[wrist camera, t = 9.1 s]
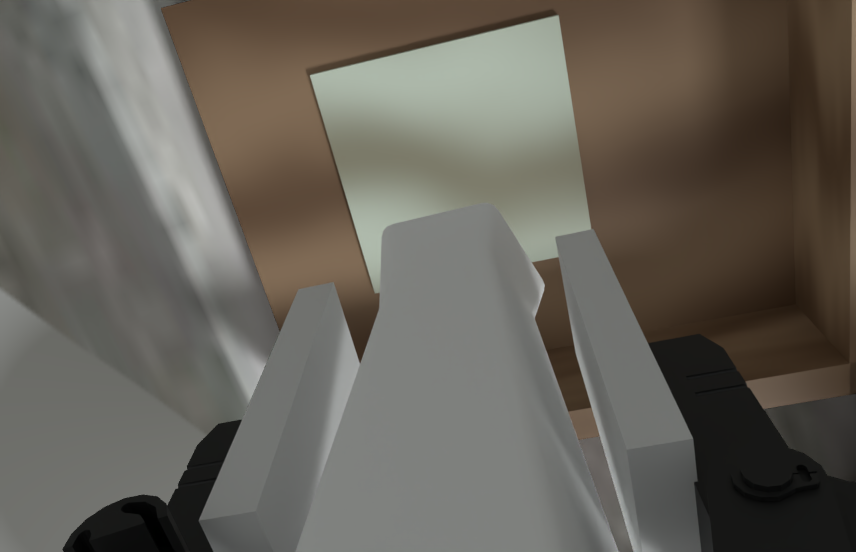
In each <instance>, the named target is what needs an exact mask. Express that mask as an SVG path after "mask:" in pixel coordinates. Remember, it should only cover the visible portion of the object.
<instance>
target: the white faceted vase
mask: <svg viewBox="0 0 856 552" xmlns="http://www.w3.org/2000/svg"><path fill="white" fill-rule="evenodd" d="M544 287H545V285H544V282H543V280H542V278H541V276H540V275H539V273H538V272H537V270H536V268H535V267H534V265H533V264H532V262H531V261H530V259H529V257H528V256H527V254H526V253H525V251H524V250H523V248H522V246H521V245H520V243H519V242H518V240H517V238H516V237H515V235H514V234H513V232H512V231H511V229H510V227H509V226H508V224H507V223H506V221H505V220H504V218H503V216H502V215H501V213H500V212H499V210H498V209H497V208H496V207H495V206H494V205H492V204H490V203H480V204H475V205H471V206H467V207H463V208H458V209H454V210H450V211H446V212H442V213H437V214H433V215H429V216H425V217H420V218H416V219H412V220H408V221H403V222H399V223H395V224H392V225H390V226H387V227H386V228H385V229H384V231H383V234H382V241H381V271H380V301H379V311H378V314H377V317H376V319H375V322H374V325H373V328H372V331H371V334H370V337H369V340H368V343H367V346H366V348H365V351H364V354H363V357H362V360H361V363H360V366H359V369H358V372H357V375H356V377H355V380H354V383H353V386H352V389H351V392H350V395H349V398H348V401H347V403H346V406H345V409H344V412H343V415H342V418H341V421H340V424H339V427H338V430H337V432H336V435H335V438H334V441H333V444H332V447H331V450H330V453H329V456H328V459H327V461H326V464H325V467H324V470H323V473H322V476H321V479H320V482H319V485H318V487H317V490H316V493H315V496H314V499H313V502H312V505H311V508H310V511H309V514H308V516H307V519H306V522H305V525H304V528H303V531H302V534H301V537H300V540H299V543H298V545H297V548H296V551H295V552H618V549H617V546H616V543H615V541H614V538H613V535H612V532H611V530H610V527H609V524H608V521H607V518H606V516H605V513H604V510H603V507H602V505H601V502H600V499H599V496H598V493H597V491H596V488H595V485H594V482H593V479H592V477H591V474H590V471H589V468H588V466H587V463H586V460H585V457H584V454H583V452H582V449H581V446H580V443H579V441H578V438H577V435H576V432H575V429H574V427H573V424H572V421H571V418H570V415H569V413H568V410H567V407H566V404H565V402H564V399H563V396H562V393H561V390H560V388H559V385H558V382H557V379H556V377H555V374H554V371H553V368H552V365H551V363H550V360H549V357H548V354H547V351H546V349H545V346H544V343H543V340H542V338H541V335H540V332H539V329H538V326H537V324H536V321H535V316H536V313H537V310H538V307H539V304H540V301H541V298H542V295H543V292H544Z"/></svg>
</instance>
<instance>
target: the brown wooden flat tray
mask: <svg viewBox="0 0 856 552" xmlns="http://www.w3.org/2000/svg"><path fill="white" fill-rule="evenodd" d="M161 10H162V13H163V16H164V18H165V21H166V24H167V26H168V29H169V32H170V35H171V37H172V40H173V43H174V45H175V48H176V51H177V54H178V56H179V59H180V62H181V64H182V67H183V70H184V73H185V75H186V78H187V81H188V83H189V86H190V89H191V92H192V94H193V97H194V100H195V102H196V105H197V108H198V111H199V113H200V116H201V119H202V121H203V124H204V127H205V130H206V132H207V135H208V138H209V140H210V143H211V146H212V149H213V151H214V154H215V157H216V159H217V162H218V165H219V168H220V170H221V173H222V176H223V178H224V181H225V184H226V187H227V189H228V192H229V195H230V197H231V200H232V203H233V206H234V208H235V211H236V214H237V216H238V219H239V222H240V225H241V227H242V230H243V233H244V235H245V238H246V241H247V244H248V246H249V249H250V252H251V254H252V257H253V260H254V263H255V265H256V268H257V271H258V273H259V276H260V279H261V282H262V284H263V287H264V290H265V292H266V295H267V298H268V301H269V303H270V306H271V309H272V311H273V314H274V317H275V320H276V322H277V325H278V328H279V330H280V331H281V329H282V326H283V324H284V322H285V319H286V317H287V315H288V312H289V310H290V308H291V305H292V303H293V301H294V298H295V296H296V294H297V292H298V289H302V288H307V287H312V286H317V285H322V284H327V283H332V282H334V285H335V288H336V291H337V294H338V297H339V301H340V304H341V307H342V310H343V313H344V316H345V319H346V322H347V325H348V328H349V332H350V335H351V338H352V341H353V344H354V347H355V350H356V353H357V356H358V360H359V363H361V360H362V357H363V354H364V351H365V348H366V346H367V343H368V340H369V337H370V334H371V331H372V328H373V325H374V322H375V319H376V317H377V314H378V311H379V301H380V271H381V241H382V234H383V231H384V229H385V228H386V227H387V226H390V225H392V224H395V223H399V222H403V221H408V220H412V219H416V218H420V217H425V216H429V215H433V214H437V213H442V212H446V211H450V210H454V209H458V208H463V207H467V206H471V205H475V204H480V203H490V204H492V205H494V206H495V207H496V208H497V209H498V210H499V212H500V213H501V215H502V216H503V218H504V220H505V221H506V223H507V224H508V226H509V227H510V229H511V231H512V232H513V234H514V235H515V237H516V238H517V240H518V242H519V243H520V245H521V246H522V248H523V250H524V251H525V253H526V254H527V256H528V257H529V259H530V261H531V262H532V264H533V265H534V267H535V268H536V270H537V272H538V273H539V275H540V276H541V278H542V280H543V282H544V285H545V287H544V292H543V295H542V298H541V301H540V304H539V307H538V310H537V313H536V316H535V321H536V324H537V326H538V329H539V332H540V335H541V338H542V340H543V343H544V346H545V349H546V351H547V354H548V357H549V360H550V363H551V365H552V368H553V371H554V374H555V377H556V379H557V382H558V385H559V388H560V390H561V393H562V396H563V399H564V402H565V404H566V407H567V410H568V413H569V415H570V418H571V421H572V424H573V427H574V429H575V432H576V435H577V438H578V440H580V439H586V438H592V437H598V436H600V435H599V431H598V428H597V424H596V421H595V418H594V414H593V411H592V407H591V404H590V401H589V397H588V394H587V390H586V387H585V383H584V380H583V377H582V373H581V370H580V366H579V363H578V359H577V356H576V352H575V347H574V341H573V335H572V330H571V324H570V318H569V313H568V307H567V301H566V296H565V290H564V284H563V279H562V273H561V267H560V262H559V256H558V250H557V245H556V239H555V237H557V236H562V235H566V234H571V233H576V232H581V231H586V230H591V229H594V231H595V233H596V235H597V237H598V239H599V242H600V244H601V246H602V248H603V250H604V252H605V254H606V256H607V258H608V261H609V263H610V265H611V267H612V269H613V271H614V273H615V275H616V277H617V279H618V282H619V284H620V286H621V288H622V290H623V292H624V294H625V296H626V298H627V300H628V303H629V305H630V307H631V309H632V311H633V313H634V315H635V317H636V319H637V322H638V324H639V326H640V328H641V330H642V332H643V334H644V336H645V338H646V340H647V343H651V342H657V341H662V340H668V339H673V338H679V337H684V336H690V335H695V334H701V335H702V336H704V337H706V338H708V339H709V340H711V341H713V342H714V343H716V344H718V345H719V346H721V347H723V348H724V349H725V351H726V352H727V354H728V356H729V357H730V359H731V360H732V362H733V363H734V365H735V366H736V369H737V371H739V372H740V374H741V375H742V377H743V379H744V380H745V382H746V383H747V387H748V388H750V389H751V391H752V392H753V394H754V395H755V397H756V398H757V400H758V402H759V403H760V405H761V406H762V408H763V409H767V408H773V407H779V406H785V405H791V404H797V403H803V402H809V401H815V400H821V399H827V398H833V397H839V396H845V395H851V394H856V0H190V1H186V2H182V3H179V4H175V5H171V6H167V7H163V8H161Z"/></svg>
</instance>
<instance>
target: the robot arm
mask: <svg viewBox="0 0 856 552" xmlns="http://www.w3.org/2000/svg"><path fill="white" fill-rule="evenodd" d="M555 239H556V245H557V250H558V256H559V262H560V267H561V273H562V279H563V284H564V290H565V296H566V301H567V307H568V313H569V318H570V324H571V330H572V335H573V341H574V347H575V352H576V356H577V359H578V363H579V366H580V370H581V373H582V377H583V380H584V383H585V387H586V390H587V394H588V397H589V401H590V404H591V407H592V411H593V414H594V418H595V421H596V424H597V428H598V431H599V435H600V438H601V442H602V445H603V448H604V452H605V455H606V459H607V462H608V466H609V469H610V472H611V476H612V479H613V483H614V486H615V489H616V493H617V496H618V500H619V503H620V507H621V510H622V513H623V517H624V520H625V524H626V527H627V530H628V534H629V537H630V541H631V544H632V548H633V551H634V552H856V482H849V481H844V480H841V479H838V478H834V477H831V476H828V475H827V474H826V472H825V471H824V469H823V468H822V466H821V465H820V464H818V463H817V462H815V461H814V460H813V459H811V458H810V457H808V456H807V455H805V454H804V453H801V452H798V451H795V450H793V449H790V448H788V446H787V444H786V443H785V441H784V440H783V438H782V437H781V435H780V434H779V432H778V431H777V429H776V428H775V426H774V425H773V423H772V421H771V420H770V418H769V417H768V415H767V414H766V412H765V411H764V409H763V408H762V406H761V405H760V403H759V402H758V400H757V398H756V397H755V395H754V394H753V392H752V391H751V389H750V388H748V387H747V383H746V382H745V380H744V379H743V377H742V375H741V374H740V372H739V371H737V369H736V366H735V365H734V363H733V362H732V360H731V359H730V357H729V356H728V354H727V352H726V351H725V349H724V348H723V347H721V346H719V345H718V344H716V343H714V342H713V341H711V340H709V339H708V338H706V337H704V336H702V335H701V334H695V335H690V336H684V337H679V338H673V339H668V340H662V341H657V342H651V343H647V340H646V338H645V336H644V334H643V332H642V330H641V328H640V326H639V324H638V322H637V319H636V317H635V315H634V313H633V311H632V309H631V307H630V305H629V303H628V300H627V298H626V296H625V294H624V292H623V290H622V288H621V286H620V284H619V282H618V279H617V277H616V275H615V273H614V271H613V269H612V267H611V265H610V263H609V261H608V258H607V256H606V254H605V252H604V250H603V248H602V246H601V244H600V242H599V239H598V237H597V235H596V233H595V231H594V229H591V230H586V231H581V232H576V233H571V234H566V235H562V236H557V237H555ZM359 366H360V363H359V360H358V356H357V353H356V350H355V347H354V344H353V341H352V338H351V335H350V332H349V328H348V325H347V322H346V319H345V316H344V313H343V310H342V307H341V304H340V301H339V297H338V294H337V291H336V288H335V285H334V282H332V283H327V284H322V285H317V286H312V287H307V288H302V289H298V292H297V294H296V296H295V298H294V301H293V303H292V305H291V308H290V310H289V312H288V315H287V317H286V319H285V322H284V324H283V326H282V329H281V331H280V333H279V336H278V338H277V340H276V342H275V345H274V347H273V349H272V352H271V354H270V356H269V359H268V361H267V363H266V366H265V368H264V370H263V373H262V375H261V377H260V380H259V382H258V384H257V387H256V389H255V391H254V393H253V396H252V398H251V400H250V403H249V405H248V407H247V410H246V412H245V414H244V417H243V419H242V420H237V421H231V422H226V423H220V424H218V425H217V426H216V427H215V428H214V429H213V430H212V431H211V432H210V433H209V434H208V435H207V436H206V437H205V438H204V439H203V440H202V441H201V442H200V443H199V444H198V445H197V447H196V449H195V451H194V453H193V455H192V457H191V459H190V461H189V463H188V465H187V470H186V471H184V473H183V475H182V477H181V479H180V481H179V484H178V489H175V491H174V493H173V495H172V498H171V499H170V501H169V503H168V505H166V503H165V502H163V501H162V500H161V499H160V498H159V497H157V496H149V495H139V496H134V497H129V498H124V499H122V500H120V501H117V502H115V503H113V504H110V505H109V506H106V507H104V508H102V509H101V510H99V511H98V512H97V513H95V514H94V515H92V516H90V517H89V518H87V519H86V520H85V521H84V522H83V523H82V524H81V525H80V526H79V527H78V528H77V529H76V530H75V531H74V532H73V533H72V534H71V536H70V537H69V539H68V541H67V542H66V544H65V546H64V547H63V551H64V552H295V551H296V548H297V545H298V543H299V540H300V537H301V534H302V531H303V528H304V525H305V522H306V519H307V516H308V514H309V511H310V508H311V505H312V502H313V499H314V496H315V493H316V490H317V487H318V485H319V482H320V479H321V476H322V473H323V470H324V467H325V464H326V461H327V459H328V456H329V453H330V450H331V447H332V444H333V441H334V438H335V435H336V432H337V430H338V427H339V424H340V421H341V418H342V415H343V412H344V409H345V406H346V403H347V401H348V398H349V395H350V392H351V389H352V386H353V383H354V380H355V377H356V375H357V372H358V369H359Z"/></svg>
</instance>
